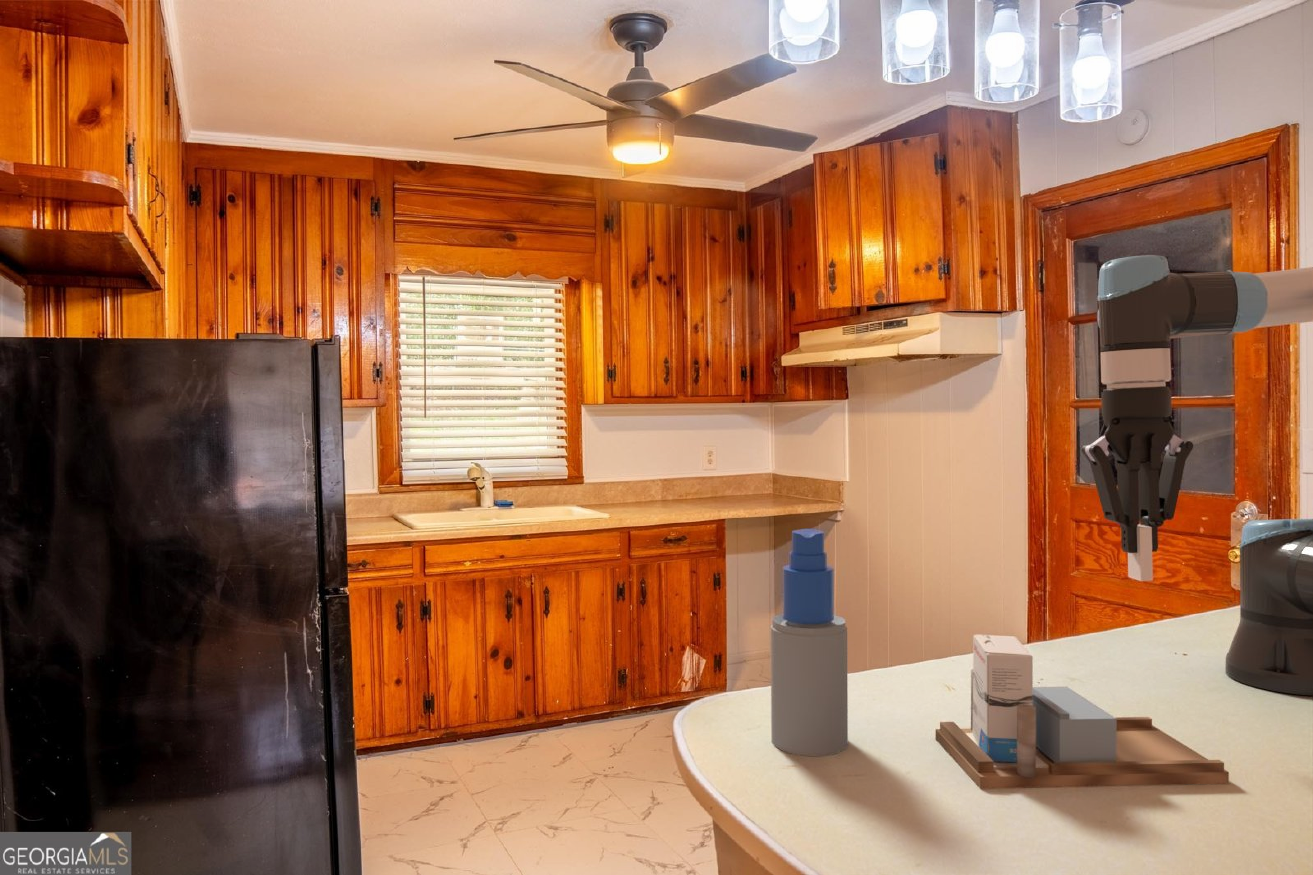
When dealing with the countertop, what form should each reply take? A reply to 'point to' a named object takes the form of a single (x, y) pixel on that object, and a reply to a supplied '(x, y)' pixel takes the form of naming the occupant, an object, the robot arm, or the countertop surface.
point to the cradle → (1138, 762)
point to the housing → (1072, 727)
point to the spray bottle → (809, 656)
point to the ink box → (999, 693)
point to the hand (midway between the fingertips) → (1140, 578)
